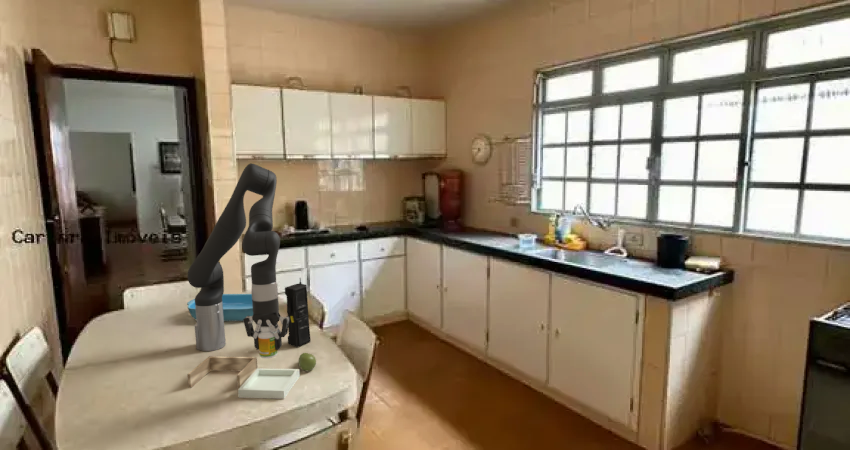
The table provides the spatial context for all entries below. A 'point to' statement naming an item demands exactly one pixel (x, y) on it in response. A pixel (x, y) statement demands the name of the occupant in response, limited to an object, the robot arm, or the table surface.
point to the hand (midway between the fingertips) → (268, 348)
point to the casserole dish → (231, 307)
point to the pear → (307, 361)
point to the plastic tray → (269, 383)
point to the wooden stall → (224, 368)
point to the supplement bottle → (266, 343)
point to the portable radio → (297, 314)
